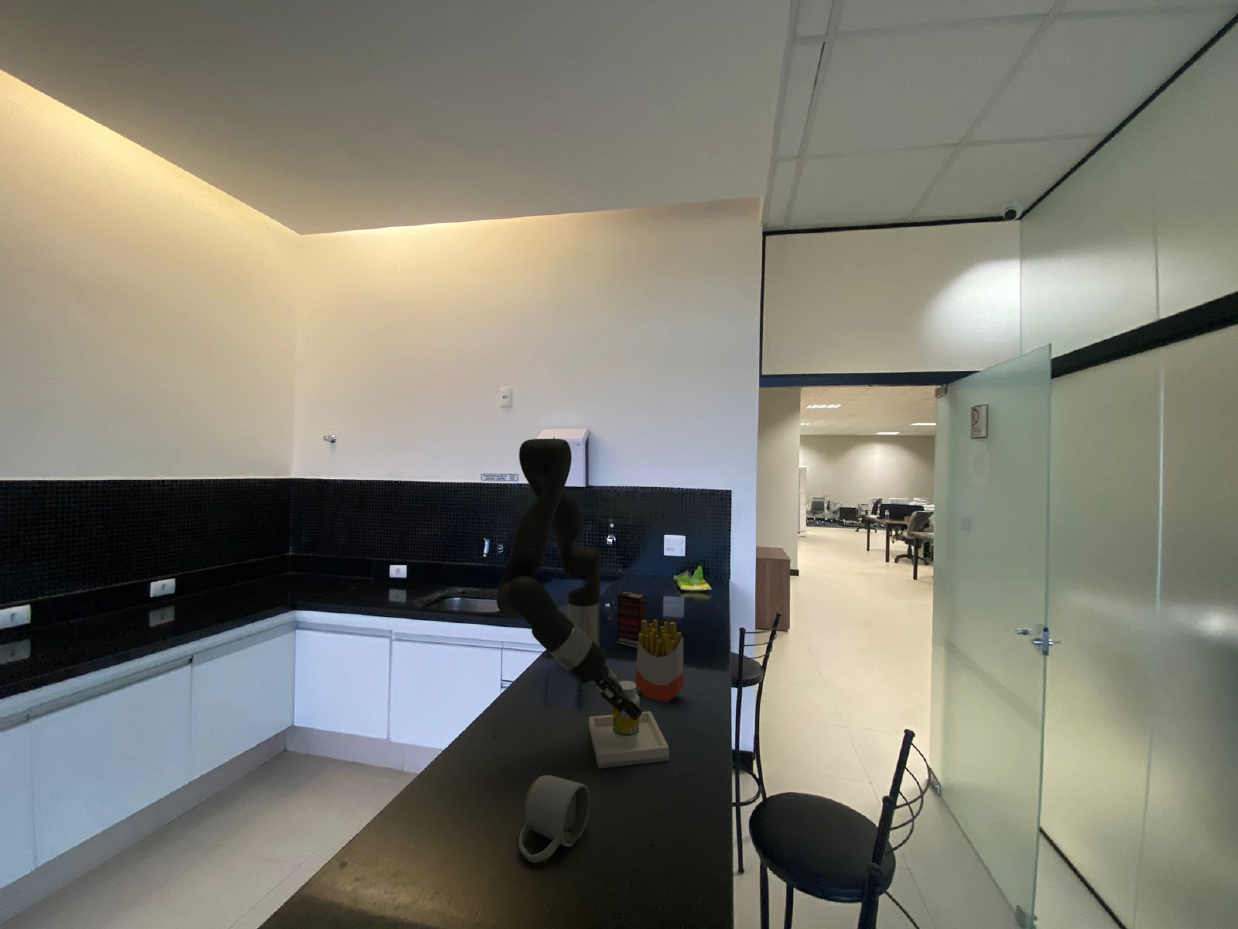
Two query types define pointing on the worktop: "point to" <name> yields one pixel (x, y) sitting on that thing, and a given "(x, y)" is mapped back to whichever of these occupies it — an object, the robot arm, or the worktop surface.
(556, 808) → the ceramic mug
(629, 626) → the supplement box
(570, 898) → the worktop surface
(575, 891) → the worktop surface
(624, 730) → the supplement bottle
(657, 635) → the french fries container
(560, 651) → the robot arm
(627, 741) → the tray
